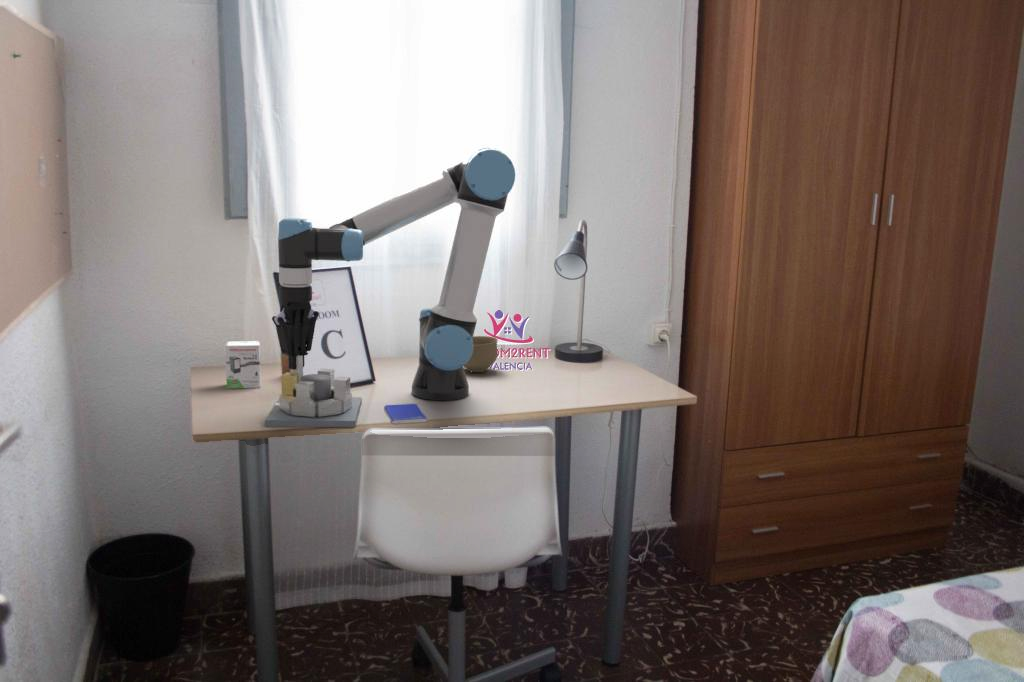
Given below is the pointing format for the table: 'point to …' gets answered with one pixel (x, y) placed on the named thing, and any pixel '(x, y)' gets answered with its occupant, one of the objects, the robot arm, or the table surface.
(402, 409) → the hard drive
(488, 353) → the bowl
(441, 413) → the table surface
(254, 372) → the ink box
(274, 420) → the housing
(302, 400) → the ring nut
